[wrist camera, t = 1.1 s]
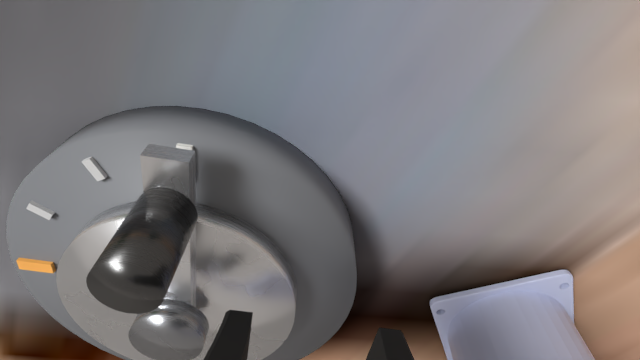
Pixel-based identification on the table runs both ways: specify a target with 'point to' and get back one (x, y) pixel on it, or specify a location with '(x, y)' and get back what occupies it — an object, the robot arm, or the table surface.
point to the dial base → (211, 190)
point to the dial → (174, 271)
